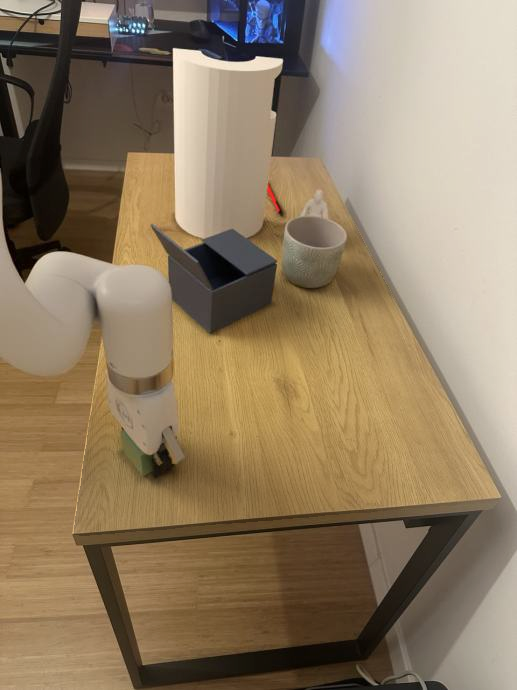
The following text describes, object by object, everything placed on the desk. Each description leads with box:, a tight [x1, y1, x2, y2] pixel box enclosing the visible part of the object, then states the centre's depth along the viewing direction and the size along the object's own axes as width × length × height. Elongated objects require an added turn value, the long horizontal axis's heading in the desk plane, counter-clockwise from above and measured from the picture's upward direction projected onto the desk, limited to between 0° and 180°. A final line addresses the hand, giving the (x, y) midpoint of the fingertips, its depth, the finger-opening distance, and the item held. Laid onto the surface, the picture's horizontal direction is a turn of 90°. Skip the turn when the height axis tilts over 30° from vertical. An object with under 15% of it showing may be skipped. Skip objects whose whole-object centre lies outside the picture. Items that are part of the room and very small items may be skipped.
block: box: [120, 429, 166, 477], centre depth 69 cm, size 5×5×5 cm
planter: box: [281, 214, 348, 289], centre depth 102 cm, size 12×12×11 cm
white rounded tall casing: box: [172, 47, 284, 239], centre depth 104 cm, size 35×11×21 cm
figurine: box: [299, 188, 329, 219], centre depth 111 cm, size 8×8×12 cm
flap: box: [150, 223, 213, 290], centre depth 83 cm, size 7×13×1 cm
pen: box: [267, 183, 283, 217], centre depth 129 cm, size 1×19×1 cm, turn 13°
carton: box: [167, 229, 278, 335], centre depth 94 cm, size 15×13×10 cm
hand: (148, 452), depth 70 cm, fingers open, 6 cm apart
